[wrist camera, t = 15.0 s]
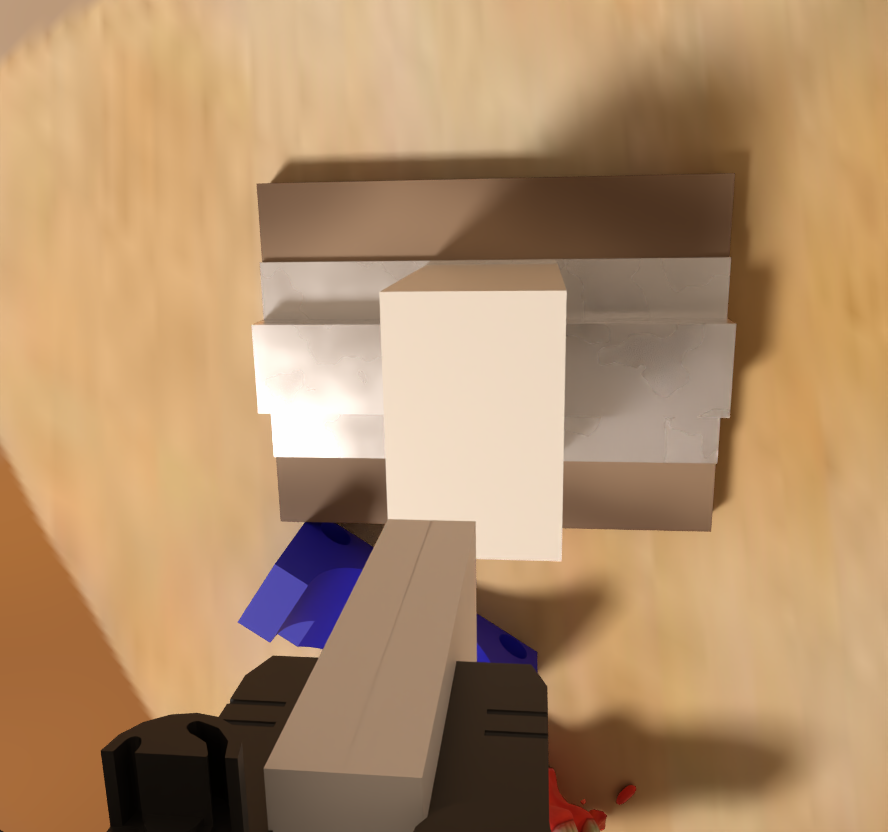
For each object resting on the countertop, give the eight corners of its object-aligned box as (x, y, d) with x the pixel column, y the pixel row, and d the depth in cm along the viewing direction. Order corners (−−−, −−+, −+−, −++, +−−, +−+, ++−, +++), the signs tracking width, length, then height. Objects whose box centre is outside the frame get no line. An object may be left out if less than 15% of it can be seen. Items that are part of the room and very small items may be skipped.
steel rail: (715, 461, 33) (725, 475, 31) (275, 454, 35) (262, 467, 33) (729, 256, 31) (740, 260, 29) (262, 262, 33) (247, 265, 31)
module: (424, 264, 32) (375, 291, 22) (557, 263, 31) (566, 290, 22) (428, 455, 34) (385, 556, 24) (554, 457, 33) (561, 561, 24)
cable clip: (267, 582, 38) (219, 650, 33) (315, 507, 37) (275, 564, 31) (483, 719, 39) (473, 809, 33) (537, 650, 38) (537, 730, 32)
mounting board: (703, 518, 35) (711, 531, 34) (290, 508, 37) (280, 521, 36) (725, 174, 32) (734, 173, 30) (268, 184, 34) (256, 183, 32)
